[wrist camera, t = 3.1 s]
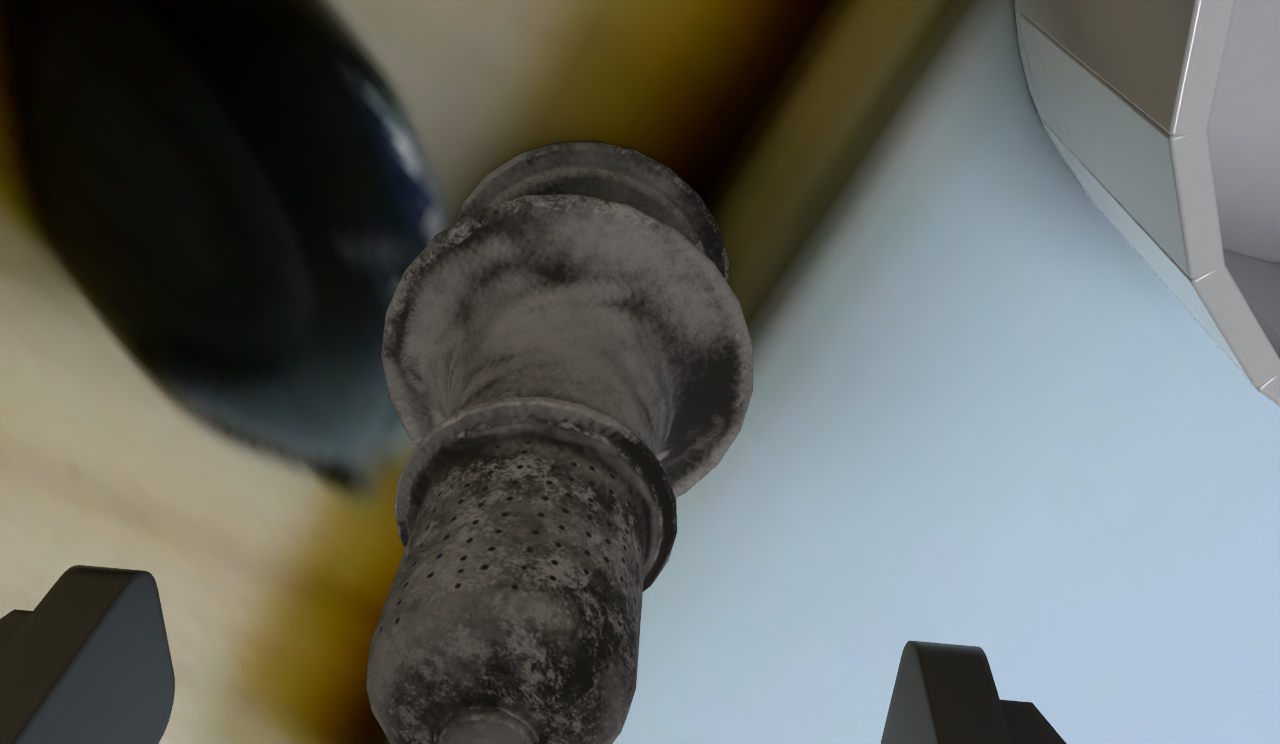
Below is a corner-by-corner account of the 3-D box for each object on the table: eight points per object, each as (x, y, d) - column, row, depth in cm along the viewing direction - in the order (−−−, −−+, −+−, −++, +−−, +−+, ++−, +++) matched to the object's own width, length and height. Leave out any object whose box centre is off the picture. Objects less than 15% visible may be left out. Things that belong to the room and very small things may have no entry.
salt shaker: (368, 204, 20) (7, 699, 10) (664, 67, 19) (618, 474, 8) (523, 454, 23) (369, 1063, 12) (794, 350, 21) (886, 940, 11)
